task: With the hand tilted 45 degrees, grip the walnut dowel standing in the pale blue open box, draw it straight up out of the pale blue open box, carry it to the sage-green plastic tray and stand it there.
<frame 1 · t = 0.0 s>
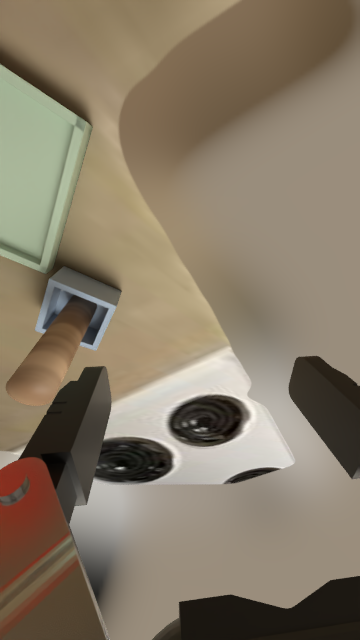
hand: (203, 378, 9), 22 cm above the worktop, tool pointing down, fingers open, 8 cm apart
dowel: (83, 304, 30), point 1 cm above the worktop, touching pale blue open box
pale blue open box: (85, 302, 31), on the worktop
tray: (10, 176, 23), on the worktop
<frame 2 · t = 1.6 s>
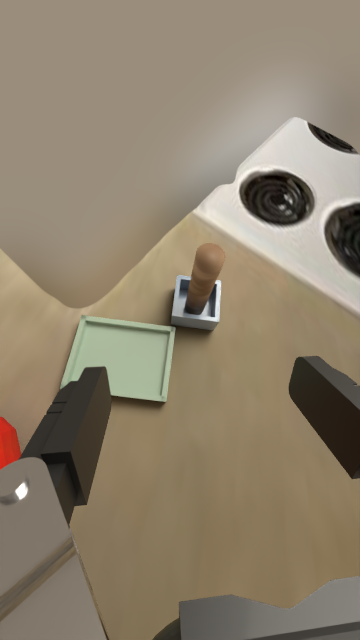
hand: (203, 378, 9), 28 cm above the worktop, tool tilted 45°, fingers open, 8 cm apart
dowel: (194, 306, 40), point 1 cm above the worktop, touching pale blue open box
pale blue open box: (194, 308, 41), on the worktop
tray: (123, 358, 37), on the worktop
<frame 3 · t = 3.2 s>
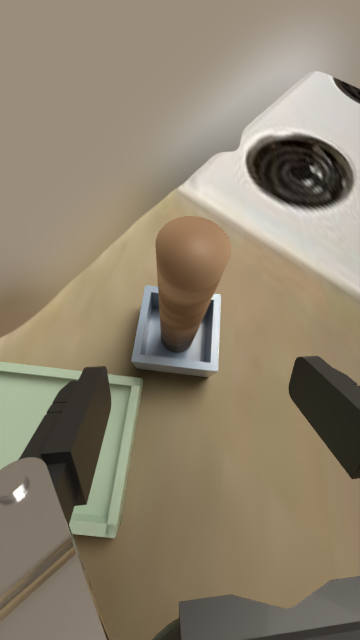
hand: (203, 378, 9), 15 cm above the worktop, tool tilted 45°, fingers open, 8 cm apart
dowel: (177, 336, 24), point 1 cm above the worktop, touching pale blue open box
pale blue open box: (176, 338, 25), on the worktop
tray: (49, 435, 21), on the worktop
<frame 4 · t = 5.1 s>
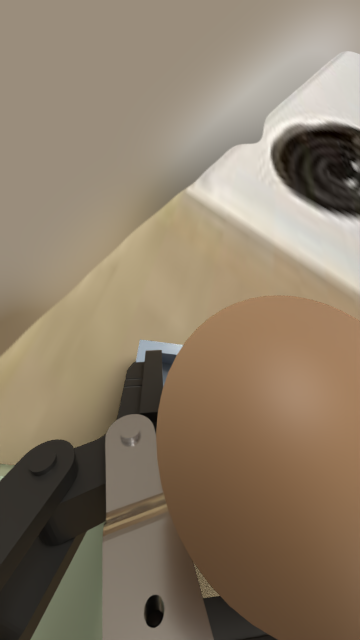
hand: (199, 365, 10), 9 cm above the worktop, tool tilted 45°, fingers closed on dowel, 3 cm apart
dowel: (187, 408, 17), point 1 cm above the worktop, touching pale blue open box, gripper
pale blue open box: (186, 408, 17), on the worktop
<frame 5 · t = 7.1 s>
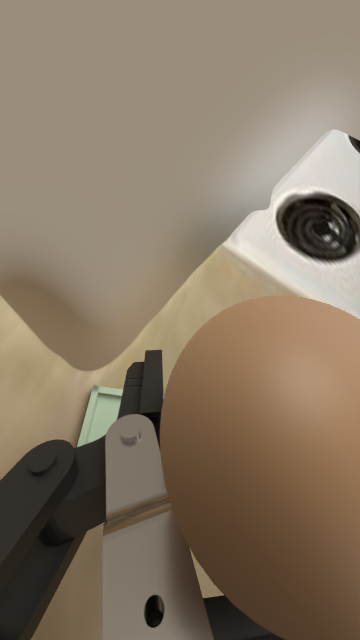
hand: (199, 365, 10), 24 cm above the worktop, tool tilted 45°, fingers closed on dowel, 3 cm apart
dowel: (187, 408, 17), point 16 cm above the worktop, touching gripper
tray: (144, 440, 29), on the worktop
when the fingers open (10 cm above the worktop, at t = 9.6 s): dowel stays where it is, resting on tray.
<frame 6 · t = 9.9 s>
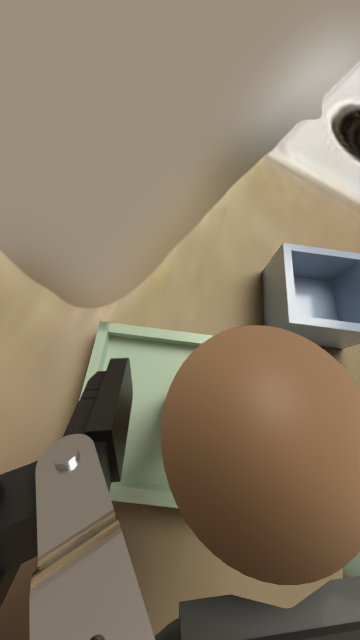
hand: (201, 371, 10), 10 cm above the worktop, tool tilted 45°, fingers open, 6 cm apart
dowel: (185, 410, 17), point 1 cm above the worktop, touching tray
pale blue open box: (300, 307, 23), on the worktop
tray: (184, 408, 18), on the worktop
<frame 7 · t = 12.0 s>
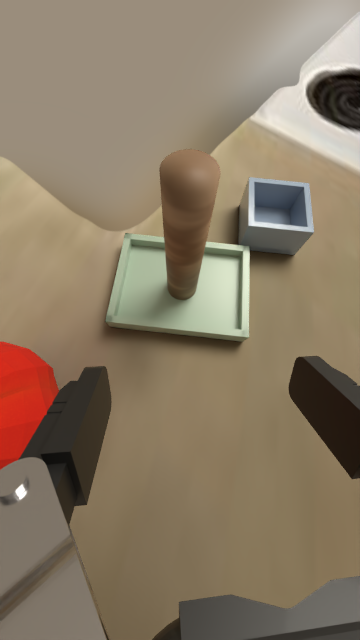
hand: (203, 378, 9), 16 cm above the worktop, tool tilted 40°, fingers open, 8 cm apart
dowel: (182, 286, 27), point 1 cm above the worktop, touching tray
pale blue open box: (265, 229, 31), on the worktop
tray: (181, 289, 28), on the worktop
tomato: (12, 428, 23), on the worktop
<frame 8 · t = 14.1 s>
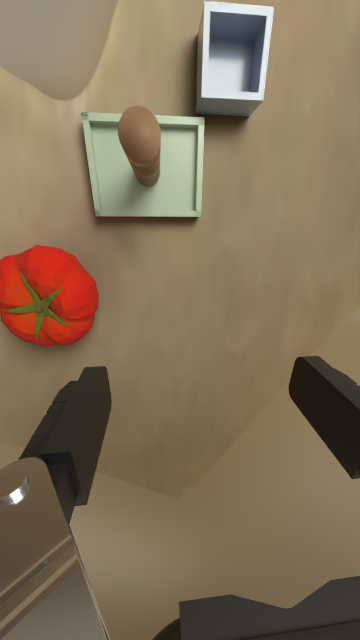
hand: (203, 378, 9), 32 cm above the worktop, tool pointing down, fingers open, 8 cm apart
dowel: (147, 172, 32), point 1 cm above the worktop, touching tray
pale blue open box: (225, 77, 29), on the worktop
tray: (147, 172, 33), on the worktop
tomato: (63, 290, 39), on the worktop
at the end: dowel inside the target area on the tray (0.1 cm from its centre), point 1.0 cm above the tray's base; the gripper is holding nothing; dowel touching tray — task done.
